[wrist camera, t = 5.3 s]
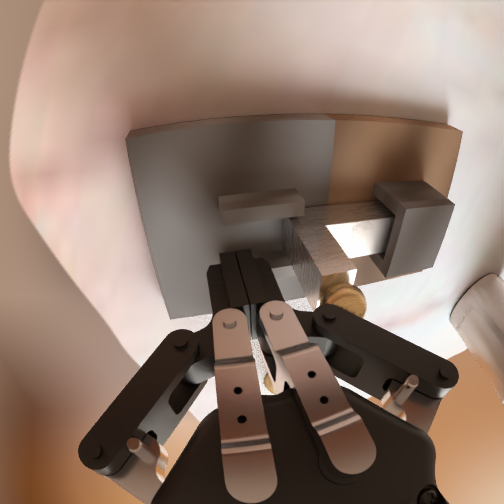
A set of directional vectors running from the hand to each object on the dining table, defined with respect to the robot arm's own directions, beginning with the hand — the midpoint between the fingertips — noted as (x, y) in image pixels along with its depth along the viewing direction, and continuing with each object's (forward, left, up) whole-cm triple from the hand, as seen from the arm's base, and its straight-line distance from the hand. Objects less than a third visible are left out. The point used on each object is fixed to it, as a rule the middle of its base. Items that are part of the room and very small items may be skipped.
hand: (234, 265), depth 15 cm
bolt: (-7, 0, -2) cm, 7 cm away
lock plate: (-6, 0, -4) cm, 7 cm away
